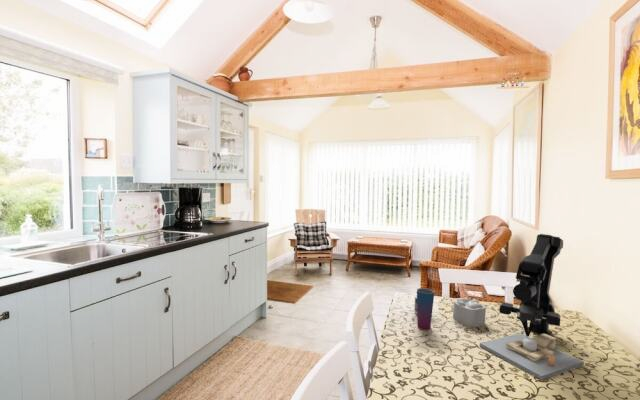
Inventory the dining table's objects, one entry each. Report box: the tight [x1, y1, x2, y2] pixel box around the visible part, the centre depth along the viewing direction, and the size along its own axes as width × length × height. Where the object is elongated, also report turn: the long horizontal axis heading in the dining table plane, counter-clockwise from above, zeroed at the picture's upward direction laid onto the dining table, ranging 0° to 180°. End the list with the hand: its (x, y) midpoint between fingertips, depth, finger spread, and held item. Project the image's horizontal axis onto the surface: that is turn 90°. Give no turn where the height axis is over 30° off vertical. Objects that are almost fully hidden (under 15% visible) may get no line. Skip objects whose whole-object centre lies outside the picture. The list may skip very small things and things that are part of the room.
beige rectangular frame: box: [506, 334, 557, 361], centre depth 116 cm, size 16×10×4 cm, turn 114°
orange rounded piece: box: [548, 355, 555, 367], centre depth 107 cm, size 2×2×3 cm
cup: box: [416, 287, 435, 331], centre depth 135 cm, size 7×7×15 cm
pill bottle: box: [413, 294, 417, 315], centre depth 150 cm, size 6×6×10 cm
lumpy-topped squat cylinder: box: [452, 297, 487, 328], centre depth 144 cm, size 10×13×9 cm
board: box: [479, 332, 585, 381], centre depth 115 cm, size 22×22×5 cm
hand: (527, 336), depth 123 cm, fingers closed
